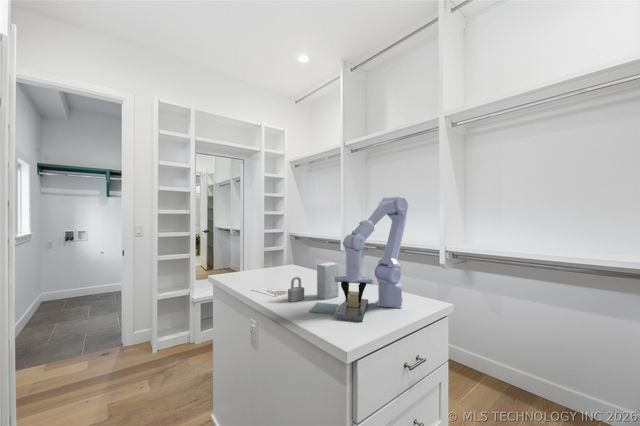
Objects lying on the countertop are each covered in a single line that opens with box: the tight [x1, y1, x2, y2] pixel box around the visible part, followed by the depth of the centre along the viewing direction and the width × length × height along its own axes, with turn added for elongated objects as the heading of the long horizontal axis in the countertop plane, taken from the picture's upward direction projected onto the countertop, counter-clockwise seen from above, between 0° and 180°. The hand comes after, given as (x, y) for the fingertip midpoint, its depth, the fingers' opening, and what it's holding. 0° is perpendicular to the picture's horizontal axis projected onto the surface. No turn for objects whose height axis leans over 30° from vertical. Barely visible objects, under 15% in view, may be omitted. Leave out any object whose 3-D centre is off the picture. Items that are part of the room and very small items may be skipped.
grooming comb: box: [267, 290, 288, 297], centre depth 136 cm, size 18×10×1 cm, turn 51°
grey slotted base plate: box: [336, 298, 369, 323], centre depth 108 cm, size 9×20×2 cm, turn 165°
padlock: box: [287, 276, 305, 303], centre depth 122 cm, size 7×4×10 cm, turn 137°
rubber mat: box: [308, 302, 339, 315], centre depth 111 cm, size 9×11×1 cm
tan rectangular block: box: [348, 290, 360, 309], centre depth 108 cm, size 4×4×7 cm
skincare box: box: [316, 261, 339, 301], centre depth 127 cm, size 8×6×15 cm
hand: (353, 302), depth 108 cm, fingers closed on tan rectangular block, 4 cm apart
